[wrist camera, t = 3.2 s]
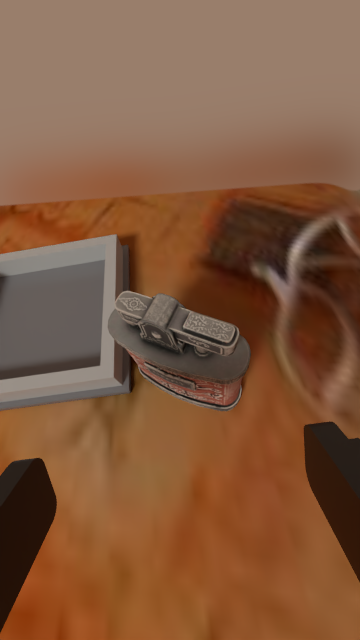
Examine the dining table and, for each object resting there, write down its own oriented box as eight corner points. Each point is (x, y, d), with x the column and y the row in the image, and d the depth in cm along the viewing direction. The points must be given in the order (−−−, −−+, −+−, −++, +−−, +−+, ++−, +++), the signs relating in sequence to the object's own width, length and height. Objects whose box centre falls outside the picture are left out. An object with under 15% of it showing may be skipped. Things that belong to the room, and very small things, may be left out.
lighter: (133, 379, 22) (74, 315, 13) (152, 342, 23) (111, 261, 14) (231, 422, 19) (241, 378, 10) (247, 377, 20) (267, 307, 12)
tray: (129, 248, 28) (121, 229, 26) (130, 392, 21) (120, 383, 19) (-9, 271, 29) (-27, 255, 27) (-54, 417, 22) (-84, 411, 20)
